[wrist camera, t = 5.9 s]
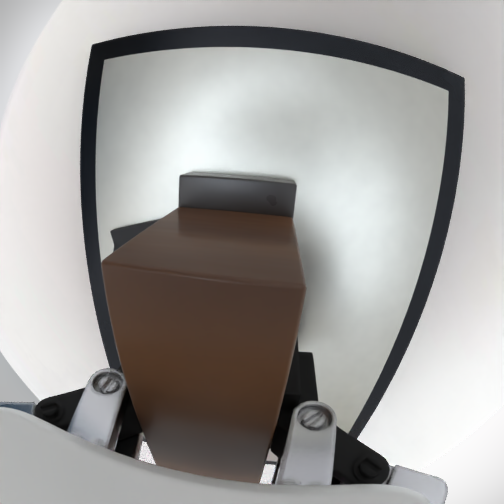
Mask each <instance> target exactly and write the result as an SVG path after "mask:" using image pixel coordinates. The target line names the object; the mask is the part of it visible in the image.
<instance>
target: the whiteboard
mask: <svg viewBox="0 0 504 504" xmlns="http://www.w3.org/2000/svg"><path fill="white" fill-rule="evenodd" d="M464 107H465V80H464V78H463V77H461V76H459V75H457V74H455V73H453V72H450V71H448V70H446V69H444V68H441V67H439V66H436V65H434V64H431V63H429V62H426V61H424V60H421V59H418V58H416V57H413V56H410V55H407V54H404V53H401V52H398V51H395V50H392V49H388V48H385V47H381V46H378V45H374V44H370V43H366V42H362V41H358V40H354V39H350V38H345V37H340V36H335V35H329V34H324V33H317V32H311V31H303V30H295V29H286V28H274V27H257V26H208V27H192V28H180V29H171V30H162V31H155V32H149V33H142V34H137V35H131V36H126V37H122V38H117V39H113V40H108V41H104V42H100V43H96V44H93V45H92V47H91V53H90V58H89V64H88V70H87V77H86V84H85V92H84V102H83V113H82V127H81V151H80V181H81V206H82V220H83V232H84V242H85V250H86V258H87V265H88V272H89V278H90V284H91V290H92V296H93V301H94V306H95V311H96V315H97V320H98V324H99V329H100V333H101V337H102V341H103V345H104V348H105V352H106V356H107V359H108V363H109V366H110V368H111V369H116V370H118V368H119V367H120V365H121V363H120V359H119V355H118V351H117V347H116V343H115V339H114V335H113V330H112V326H111V321H110V316H109V311H108V305H107V300H106V294H105V288H104V282H103V275H102V268H101V262H102V260H103V259H105V258H106V257H107V256H109V255H110V254H111V253H113V249H114V243H113V240H112V236H111V233H110V231H111V230H113V229H116V228H121V227H125V226H130V225H134V224H139V223H143V222H148V221H153V220H157V219H161V218H163V217H164V216H166V215H167V214H169V213H170V212H172V211H173V210H175V209H176V208H178V204H179V176H180V175H182V174H185V173H188V172H198V173H216V174H231V175H244V176H256V177H266V178H276V179H286V180H294V181H295V183H296V185H297V191H296V199H295V208H294V216H293V221H294V226H295V230H296V235H297V240H298V245H299V250H300V255H301V261H302V266H303V271H304V277H305V282H306V288H307V290H306V295H305V300H304V306H303V311H302V316H301V321H300V326H299V331H298V350H299V351H300V352H312V353H313V359H314V367H315V375H316V384H317V393H318V401H319V402H323V403H325V404H327V405H329V406H330V407H331V408H332V409H333V410H334V412H335V414H336V418H337V425H336V426H338V427H339V428H341V429H342V430H343V431H345V432H346V433H348V434H349V435H351V436H352V437H354V438H355V439H357V438H358V436H359V435H360V433H361V432H362V430H363V429H364V427H365V425H366V424H367V422H368V421H369V419H370V417H371V416H372V414H373V412H374V411H375V409H376V407H377V406H378V404H379V402H380V400H381V399H382V397H383V395H384V393H385V392H386V390H387V388H388V386H389V384H390V382H391V380H392V378H393V376H394V375H395V373H396V371H397V369H398V367H399V365H400V362H401V360H402V358H403V356H404V354H405V352H406V350H407V348H408V345H409V343H410V341H411V339H412V336H413V334H414V332H415V329H416V327H417V324H418V322H419V319H420V317H421V314H422V312H423V309H424V306H425V304H426V301H427V298H428V296H429V293H430V290H431V287H432V284H433V281H434V278H435V275H436V272H437V268H438V265H439V262H440V258H441V255H442V251H443V248H444V244H445V240H446V236H447V232H448V228H449V224H450V219H451V215H452V210H453V205H454V200H455V194H456V188H457V182H458V176H459V169H460V161H461V152H462V142H463V129H464ZM142 441H144V442H146V439H145V436H144V435H143V440H142ZM277 459H278V457H277V456H276V455H275V454H273V453H272V452H271V449H269V453H268V456H267V459H266V463H265V464H273V465H276V463H277Z"/></svg>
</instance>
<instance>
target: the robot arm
mask: <svg viewBox="0 0 504 504" xmlns="http://www.w3.org/2000/svg"><path fill="white" fill-rule="evenodd" d="M336 425H337V418H336V414H335V412H334V410H333V409H332V408H331V407H330V406H329V405H327V404H325V403H323V402H319V401H318V393H317V384H316V375H315V367H314V359H313V353H312V352H300V351H299V350H298V335H297V340H296V345H295V350H294V354H293V359H292V363H291V367H290V372H289V376H288V380H287V384H286V389H285V393H284V397H283V401H282V405H281V409H280V412H279V416H278V420H277V424H276V428H275V431H274V435H273V439H272V442H271V446H270V449H271V452H272V453H273V454H275V455H276V456H277V457H278V459H277V463H276V466H275V470H274V474H273V478H272V482H271V484H258V483H248V482H239V481H231V480H224V479H218V478H212V477H206V476H200V475H195V474H190V473H186V472H181V471H177V470H173V469H169V468H165V467H161V466H158V465H154V464H151V463H147V462H144V461H141V460H139V455H140V450H141V445H142V440H143V435H144V434H143V431H142V429H141V426H140V423H139V420H138V418H137V415H136V412H135V409H134V406H133V403H132V400H131V397H130V394H129V391H128V387H127V384H126V381H125V377H124V374H123V370H122V367H121V365H120V367H119V368H118V370H116V369H111V368H107V369H101V370H99V371H97V372H95V373H94V374H93V375H92V376H91V378H90V379H89V381H88V383H87V386H86V388H82V389H79V390H75V391H72V392H68V393H64V394H60V395H57V396H53V397H49V398H46V399H43V400H42V401H40V402H39V403H38V405H36V404H35V403H34V402H0V504H445V500H446V497H447V493H448V487H447V484H446V483H445V482H444V480H442V479H441V478H439V477H435V476H432V475H428V474H425V473H421V472H418V471H414V470H411V469H408V468H405V467H402V466H399V465H396V466H395V467H393V466H390V465H389V464H388V462H387V460H386V459H385V458H384V457H383V456H381V455H380V454H378V453H377V452H375V451H374V450H372V449H370V448H369V447H367V446H366V445H364V444H363V443H361V442H360V441H358V440H357V439H355V438H354V437H352V436H351V435H349V434H348V433H346V432H345V431H343V430H342V429H341V428H339V427H338V426H336Z"/></svg>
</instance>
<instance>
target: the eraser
mask: <svg viewBox="0 0 504 504" xmlns="http://www.w3.org/2000/svg"><path fill="white" fill-rule="evenodd" d="M296 191H297V185H296V183H295V181H294V180H286V179H276V178H266V177H256V176H244V175H231V174H216V173H198V172H188V173H185V174H182V175H180V176H179V204H178V208H176V209H175V210H173V211H172V212H170V213H169V214H167V215H166V216H164V217H163V218H161V219H160V220H158V221H157V222H155V223H154V224H152V225H151V226H149V227H148V228H147V229H145V230H144V231H142V232H141V233H139V234H138V235H137V236H135V237H134V238H132V239H131V240H129V241H128V242H127V243H125V244H124V245H122V246H121V247H120V248H118V249H117V250H116V251H114V252H113V253H111V254H110V255H109V256H107V257H106V258H105V259H103V260H102V262H101V268H102V275H103V282H104V288H105V294H106V300H107V305H108V311H109V316H110V321H111V326H112V330H113V335H114V339H115V343H116V347H117V351H118V355H119V359H120V363H121V367H122V370H123V374H124V377H125V381H126V384H127V387H128V391H129V394H130V397H131V400H132V403H133V406H134V409H135V412H136V415H137V418H138V420H139V423H140V426H141V429H142V431H143V434H144V436H145V439H146V442H147V444H148V447H149V449H150V451H151V454H152V456H153V458H154V461H155V463H156V465H158V466H161V467H165V468H169V469H173V470H177V471H181V472H186V473H190V474H195V475H200V476H206V477H212V478H218V479H224V480H231V481H239V482H248V483H258V484H259V482H260V479H261V476H262V473H263V470H264V466H265V463H266V459H267V456H268V453H269V449H270V446H271V442H272V439H273V435H274V431H275V428H276V424H277V420H278V416H279V412H280V409H281V405H282V401H283V397H284V393H285V389H286V384H287V380H288V376H289V372H290V367H291V363H292V359H293V354H294V350H295V345H296V340H297V335H298V331H299V326H300V321H301V316H302V311H303V306H304V300H305V295H306V290H307V288H306V282H305V277H304V271H303V266H302V261H301V255H300V250H299V245H298V240H297V235H296V230H295V226H294V221H293V216H294V208H295V199H296Z"/></svg>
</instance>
